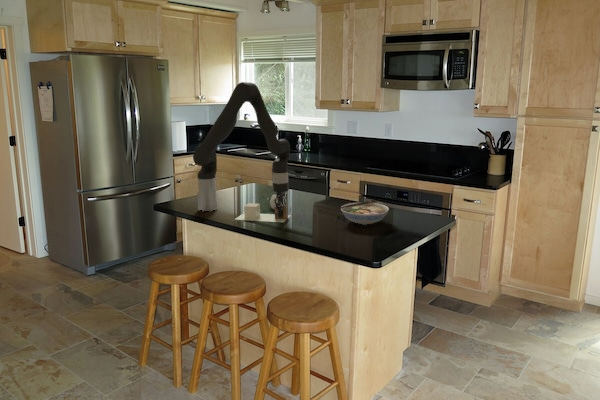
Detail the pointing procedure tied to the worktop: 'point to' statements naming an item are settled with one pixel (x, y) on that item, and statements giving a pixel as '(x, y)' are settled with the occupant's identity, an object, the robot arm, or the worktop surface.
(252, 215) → the cube
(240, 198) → the worktop surface
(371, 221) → the ramen bowl
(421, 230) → the worktop surface
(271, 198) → the die
